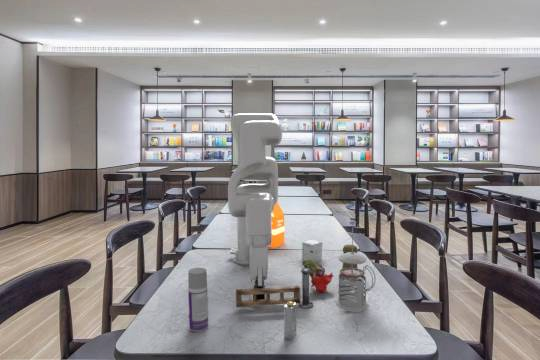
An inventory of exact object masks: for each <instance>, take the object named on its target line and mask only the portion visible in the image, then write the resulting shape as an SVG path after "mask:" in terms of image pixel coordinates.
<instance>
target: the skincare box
mask: <svg viewBox="0 0 540 360" xmlns="http://www.w3.org/2000/svg"><path fill="white" fill-rule="evenodd" d="M301 246H302V247H301V259H302V260H306V259H310V260H312V261H313V262H314V263H315V262H319V261H320V260H322V259H323V242H322V241H319V240H315V239H308V240H305V241H302V242H301Z"/></svg>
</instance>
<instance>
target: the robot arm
mask: <svg viewBox="0 0 540 360" xmlns="http://www.w3.org/2000/svg"><path fill="white" fill-rule="evenodd" d="M230 129H231V133H232V135H233V138H234V140H235V142H236V143H235V144H236V147H237V167H236V169H235V170H234V171H233V173H232V174H231V175H230V178H229V181H228V186H227V203H228V204H227V205H228V206H227V207H228V212H229V215H231V216H232V217H234V218H236V222H237V223H236V226H237V229H236V231H237V233H236V234H237V248H235V247H231V248H230V251H229V254H230V255H235V256H234V258H233V261H234V263H236V264H237V265H240V266H249V280H250V281H251V282H253V281H254V285H253V289H254V288H266V284H265V281H267V280H268V269H269V268H268V267H269V266H268V265H269V254H268V253H269V249H268V248H269V247H268V246H270V245H271V244H272V211H273V210H274V206H275V205H276V204H277V203H278V201H279V165H278V162H277V160H276V159H275V158H274V157H271V156H267V154H266V153H267V152H266V146H278V145H280V144H281V142H282V138H283V129H282V125H281V123H280V121H279V119H278V117H277V116H276V114H273V113H267V112H266V113H262V112H261V113H253V112H252V113H251V112H250V113H249V112H247V113H246V112H245V113H236V114H233V115H232V116H231V117H230ZM240 181H245V182H266V183H245V184H243V183H242V184H240V185H238V184H239V182H240ZM260 299H266V294H256V300H260Z"/></svg>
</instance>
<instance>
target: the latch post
mask: <svg viewBox="0 0 540 360" xmlns="http://www.w3.org/2000/svg"><path fill="white" fill-rule="evenodd" d="M283 327H284V328H283V329H284V331H283V336H284V338H283V339H285V340H288V341H293V340H294V339H295V337H296V335H297V303H294V302H293V301H287V304H284V307H283Z"/></svg>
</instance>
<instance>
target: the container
mask: <svg viewBox="0 0 540 360" xmlns="http://www.w3.org/2000/svg"><path fill="white" fill-rule="evenodd" d="M187 279H188V281H187V282H188V284H187V285H188V286H187V287H188V290H187V292H188V320H189V322H188V323H189V330H190V331H191V332H193V331H194V332H193V333H201V332H200V331H202V332H204V331H206V330H207V329H208V328H209V310H208V307H209V306H208V305H209V302H208V298H209V297H208V280H207V279H208V278H207V269H206V268H205V267H193V268H190V269H188V277H187Z"/></svg>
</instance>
